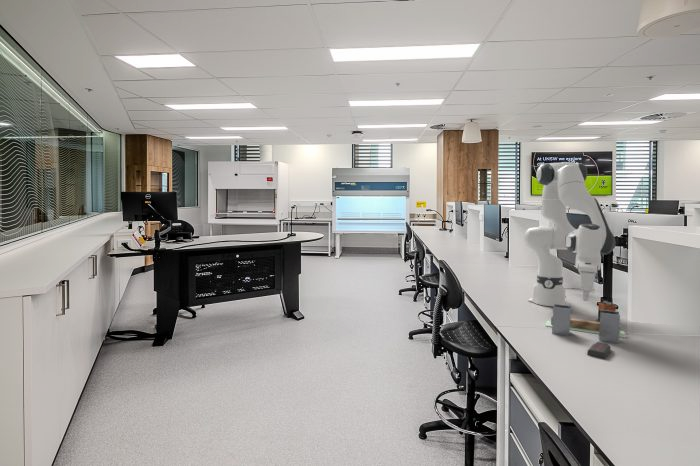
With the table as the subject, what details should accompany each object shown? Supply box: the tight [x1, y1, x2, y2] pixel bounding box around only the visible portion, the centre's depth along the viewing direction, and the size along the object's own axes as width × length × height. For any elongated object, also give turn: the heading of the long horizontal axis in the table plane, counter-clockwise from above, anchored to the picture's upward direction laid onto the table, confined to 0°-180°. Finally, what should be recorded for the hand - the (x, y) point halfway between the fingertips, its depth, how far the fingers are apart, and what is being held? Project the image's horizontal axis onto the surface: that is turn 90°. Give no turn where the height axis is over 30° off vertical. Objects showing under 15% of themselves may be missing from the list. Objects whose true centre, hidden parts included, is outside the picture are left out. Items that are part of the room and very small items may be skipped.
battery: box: [597, 300, 617, 322], centre depth 176 cm, size 4×7×10 cm, turn 168°
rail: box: [550, 315, 621, 334], centre depth 169 cm, size 24×3×3 cm, turn 60°
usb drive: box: [586, 341, 612, 360], centre depth 143 cm, size 5×12×3 cm, turn 137°
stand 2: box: [598, 310, 621, 344], centre depth 157 cm, size 6×6×10 cm
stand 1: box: [551, 304, 572, 337], centre depth 164 cm, size 6×6×10 cm
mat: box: [545, 320, 627, 339], centre depth 169 cm, size 8×28×1 cm, turn 60°
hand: (585, 297), depth 169 cm, fingers open, 8 cm apart
